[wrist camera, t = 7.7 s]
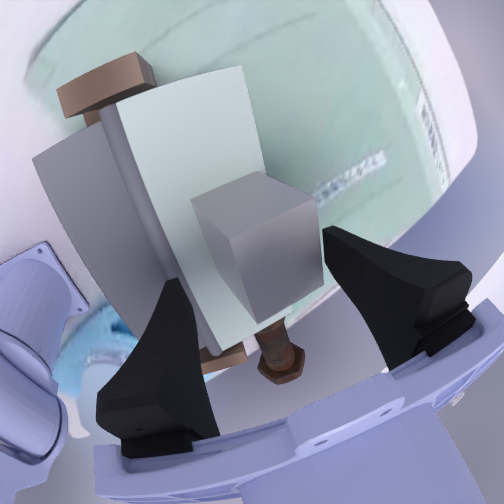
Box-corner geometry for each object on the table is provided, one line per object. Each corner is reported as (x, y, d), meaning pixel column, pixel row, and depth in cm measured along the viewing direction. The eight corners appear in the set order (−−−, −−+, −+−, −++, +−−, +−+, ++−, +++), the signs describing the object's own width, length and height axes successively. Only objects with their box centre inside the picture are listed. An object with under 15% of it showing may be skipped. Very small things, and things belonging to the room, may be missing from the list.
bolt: (245, 247, 26) (279, 340, 35) (205, 280, 24) (252, 368, 32) (293, 265, 22) (315, 361, 31) (249, 306, 20) (287, 392, 28)
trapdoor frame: (184, 319, 27) (191, 377, 21) (84, 94, 14) (39, 99, 8) (231, 304, 27) (248, 361, 21) (150, 65, 14) (135, 51, 9)
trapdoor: (158, 353, 21) (168, 380, 19) (37, 145, 11) (22, 152, 8) (274, 293, 24) (293, 313, 22) (221, 71, 14) (243, 64, 12)
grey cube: (217, 272, 17) (257, 324, 13) (190, 199, 14) (228, 238, 10) (273, 243, 18) (323, 284, 14) (256, 171, 15) (315, 197, 11)
